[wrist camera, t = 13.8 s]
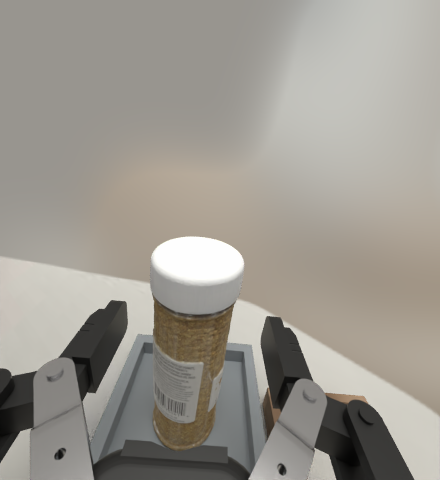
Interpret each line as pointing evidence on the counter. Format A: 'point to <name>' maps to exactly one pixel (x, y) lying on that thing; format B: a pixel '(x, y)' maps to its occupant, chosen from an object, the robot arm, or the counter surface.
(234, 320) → the counter surface
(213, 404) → the sprinkles bottle
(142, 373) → the slate tray
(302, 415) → the robot arm
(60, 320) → the counter surface
